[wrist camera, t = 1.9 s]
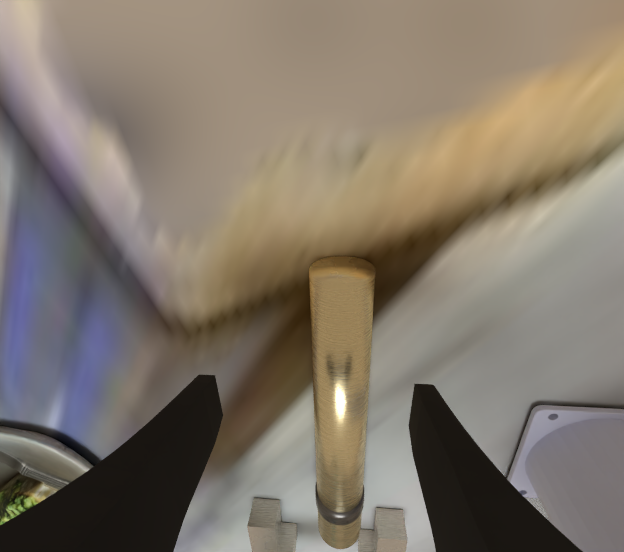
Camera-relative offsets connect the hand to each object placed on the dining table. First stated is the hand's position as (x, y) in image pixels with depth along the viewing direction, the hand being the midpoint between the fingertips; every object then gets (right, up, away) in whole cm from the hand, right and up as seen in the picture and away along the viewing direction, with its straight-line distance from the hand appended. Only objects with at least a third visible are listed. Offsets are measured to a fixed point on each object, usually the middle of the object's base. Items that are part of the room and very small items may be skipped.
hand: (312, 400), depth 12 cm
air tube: (+1, -4, +9) cm, 9 cm away
